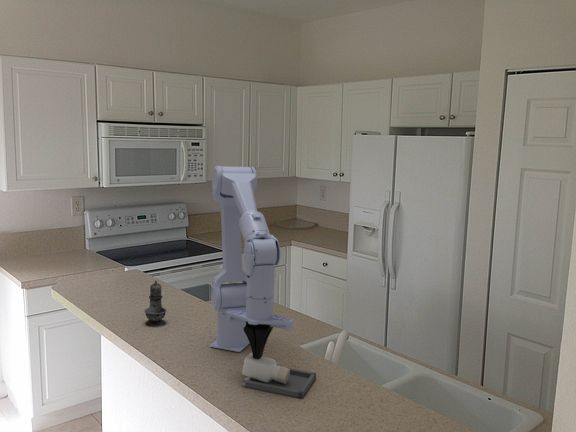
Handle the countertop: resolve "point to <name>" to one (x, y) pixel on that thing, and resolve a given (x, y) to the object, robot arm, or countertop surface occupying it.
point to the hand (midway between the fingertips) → (257, 357)
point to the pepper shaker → (264, 369)
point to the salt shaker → (155, 307)
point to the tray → (293, 387)
